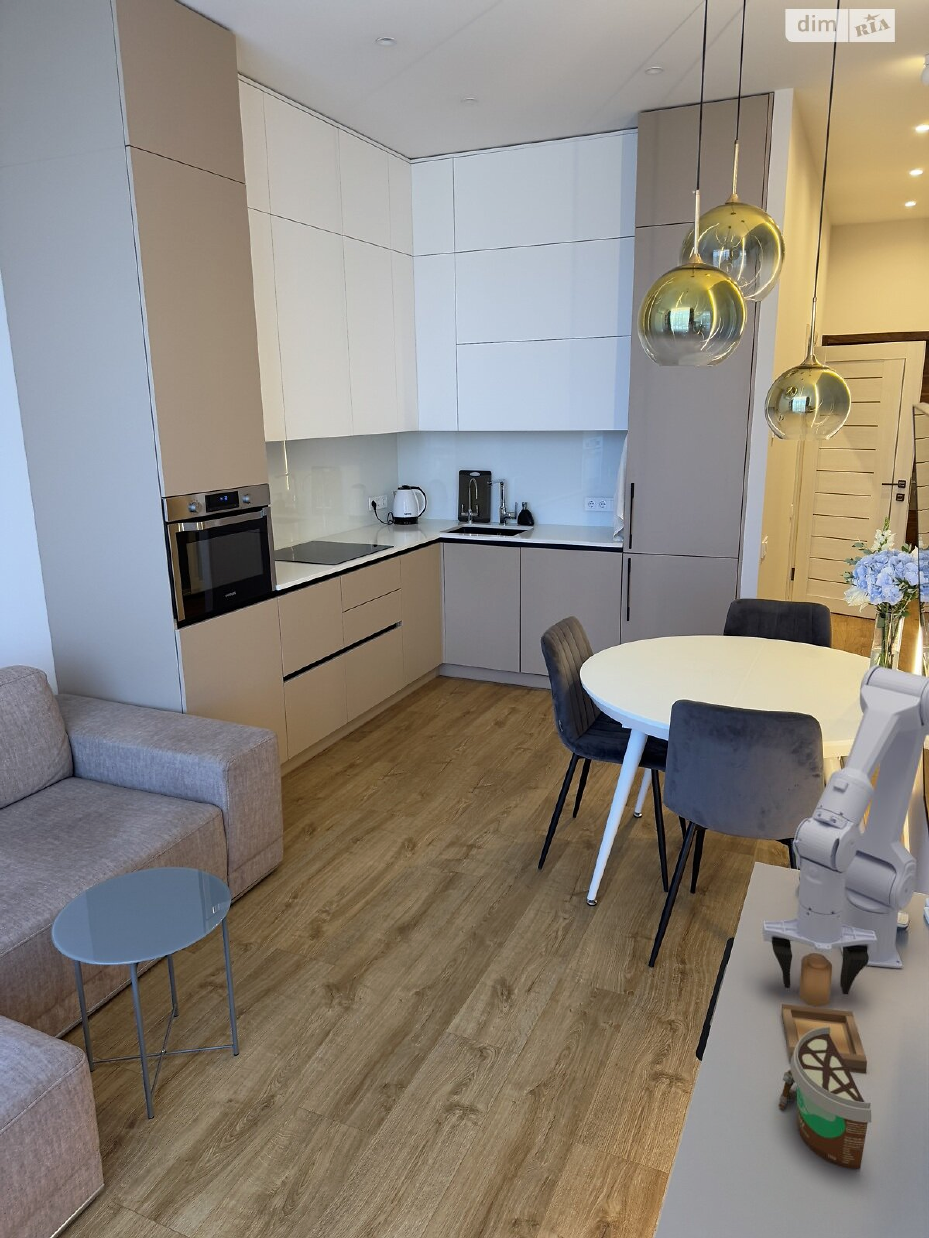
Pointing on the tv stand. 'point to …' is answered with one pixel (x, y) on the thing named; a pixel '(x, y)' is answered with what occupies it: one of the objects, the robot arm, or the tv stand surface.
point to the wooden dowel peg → (815, 980)
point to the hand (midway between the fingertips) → (815, 986)
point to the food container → (828, 1101)
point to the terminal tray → (841, 1031)
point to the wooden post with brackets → (787, 1090)
